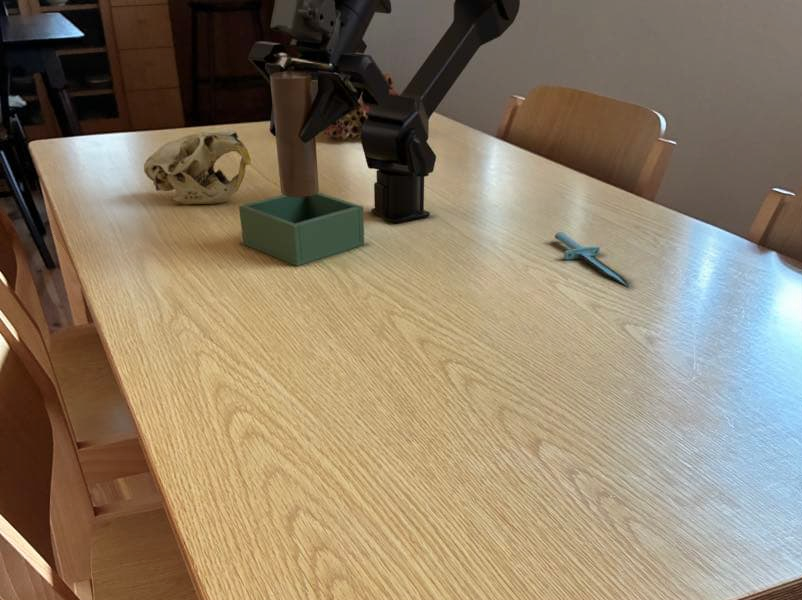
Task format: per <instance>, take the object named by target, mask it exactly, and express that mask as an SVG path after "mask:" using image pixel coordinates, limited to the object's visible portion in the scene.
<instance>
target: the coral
mask: <svg viewBox="0 0 802 600" xmlns="http://www.w3.org/2000/svg"><path fill="white" fill-rule="evenodd" d="M383 75H384V76H385V78H386V79H387V81H388V82H389V94H393V95H400V94H401V93H399V92H396V91H395V89H394V87H393V84H394V81H393V76H392V75H391V74H389V73H385V74H383ZM358 103H359V104H360V106H361V107H360V109H359V110H353V111H352V112H350V113H349V114H347V115H345V116H344V117H342V118H341V119H339V120H338V121H336V122H334V123H333V124H332V125H330V126H329V127H328V128H326V129H325V130H323V131H322V132H321V133H323V134H324V135H326V136H330V137H334V138H336V139H342V140H344V141H345V140H346V138H349V139H359V138H361V129H362V126H363V124H364V122H365V120H366V118H367V117H368V116H366V112H368V111H369V110H371V108H372V107H370V106H366V105H365V104H364V103H363V100H362V97H360V98H359V100H358Z"/></svg>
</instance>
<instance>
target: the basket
mask: <svg viewBox="0 0 802 600" xmlns="http://www.w3.org/2000/svg"><path fill="white" fill-rule="evenodd" d="M238 210H239V211H238V212H239V218H240V220H239V221H240V227H241V236H242V243H243V245H245V246H248V247H249V248H252V249H254V250H257V251H259V252H262V253H264V254H267V255H269V256H271V257H274V258H276V259H279V260H281V261H283V262H286V263H288V264H291V265H293V266H295V267H299V266H301V265H305V264H308V263H311V262H314V261H317V260H321V259H324V258H328V257H331V256H334V255H337V254H340V253H343V252H347V251H349V250H352V249H356V248H358V247H363V246H364V245H365V224H364V220H365V219H364V206H362V205H360V204H357V203H353V202H350V201H347V200H344V199H341V198H338V197H334V196H332V195H330V194H329V195H328V194H325V193H323V192H320V191H319V192H318V193H317V194H315V195H312V196H308V197H289V196H285V195H283V194H280V195H277V196H276V195H275V196H273V197H269V198H264V199H261V200H256V201H252V202H249V203H244V204H240V205H238Z"/></svg>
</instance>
